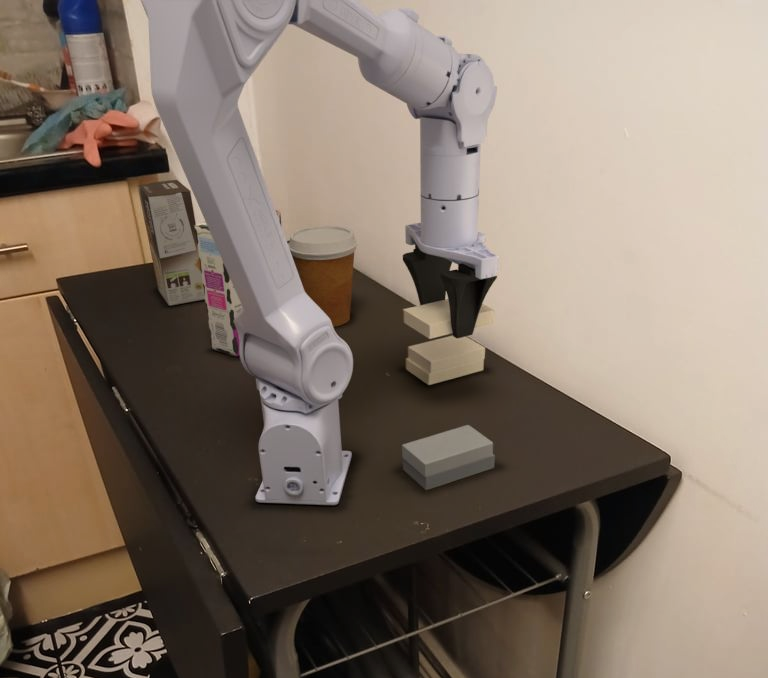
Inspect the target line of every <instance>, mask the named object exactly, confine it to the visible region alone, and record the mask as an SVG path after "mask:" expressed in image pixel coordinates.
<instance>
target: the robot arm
mask: <svg viewBox="0 0 768 678" xmlns="http://www.w3.org/2000/svg"><path fill="white" fill-rule="evenodd" d="M140 2H141V5H142V7H143V11H144V12H145V15H146V17H147V20H148V43H149V46H148V47H149V64H150V65H149V67H150V68H149V69H150V90H151V95H152V99H153V102H154V105H155V108H156V111H157V113H158V115H159V117H160V119H161V122H162V125H163V126H164V129H165V132H166V133H167V136H168V138H169V141H170V143H171V145H172V148H173V150H174V152H175V155H176V156H177V159H178V161H179V163H180V166H181V168H182V171H183V173H184V176H185V178H186V180H187V182H188V184H189V187H190V189H191V191H192V194H193V196H194V198H195V201H196V203H197V205H198V207H199V210H200V212H201V214H202V217H203V219H204V222H206V224H207V226H208V228H209V230H210V233H211V235H212V237H213V240H214V242H215V244H216V247H217V249H218V251H219V254H220V256H221V258H222V260H223V263H224V265H225V267H226V270H227V272H228V274H229V277H230V279H231V281H232V284H233V286H234V288H235V290H236V293H237V295H238V297H239V300H240V302H241V304H242V309H241V310H240V311H239V313H238V314H237V316H236V317H235V319H234V324H235V326H236V329H237V331H238V334H239V340H240V341H239V354H240V355H239V359H240V363H241V365H242V367H243V368H244V370H245V372H247V374H249V375H251V376H252V377H254V378H255V386H256V390H258V391H259V397H260V404H261V411H262V419H263V429H262V432H261V435H260V437H259V441H258V455H259V464H260V468H261V469H260V470H261V477H262V481H261V483H260V486H259V488H258V490H257V492H256V494H255V496H254V497H255V502H257V503H262V504H288V505H289V504H290V505H293V504H294V505H318V506H336V505H339V503H340V500H341V496H342V493H343V489H344V486H345V482H346V479H347V474H348V472H349V467H350V464H351V460H352V458H353V455H352V451H350V450H343V448H342V437H341V433H342V432H341V419H340V407H339V400H340V399H342V398H343V393H344V392H345V391H346V390H347V387H348V385H349V383H350V381H351V379H352V375H353V371H354V369H353V368H354V358H353V357H354V356H353V352H352V350H351V348H350V346H349V345H348V343H347V342H346V341H345V340H344V339H343V338H341V337H340V336H339V335H338V334H337V332H336V330H335V327H333V325H332V322H331V320H330V318H329V317H328V316H327V315H326V314H325V313H324V312H323V311H322V310H321V309H320V308H319V306H318V305H317V304H316V303H315V302H314V301H313V300H312V299H311V298H310V297H309V296H308V295H307V294H306V293H305V291H304V288H303V285H302V282H301V280H300V277H299V274H298V271H297V269H296V266H295V263H294V260H293V257H292V254H291V252H290V249H289V246H288V241H287V238H286V236H285V233H284V230H283V228H282V223H281V224H280V222H279V219H278V216H277V213H276V211H275V210H276V208H275V205H274V203H273V199H272V197H271V194H270V191H269V189H268V186H267V184H266V183H267V182H266V181H265V178H264V175H263V172H262V170H261V169H262V168H261V166H260V164H259V161H258V158H257V155H256V152H255V150H254V147H253V144H252V142H251V141H252V140H251V139H250V135H249V133H248V130H247V128H246V125H245V122H244V119H243V117H242V114H241V112H240V108H239V104H238V103H239V99H240V96H241V95H242V92H243V90H244V87H245V85H246V83H247V82H248V80H249V79H250V78H251V76H253V74H254V72H255V71H256V70H257V68H258V67H259V66H260V64H261V63H262V61H264V59H265V58H266V56H267V55H268V53H269V52H270V51H271V50H272V48H273V46H274V45H275V44H276V42H277V41H278V40H279V38H280V37H281V35H283V33H284V32H285V30H286V28H287V27H288V25H293V26H294V27H297V28H299V29H301V30H302V31H305V32H307V33H309V34H311V35H313V36H315V37H316V38H318V39H320V40H323V41H324V42H326V43H328V44H330V45H332V46H334V47H336V48H338V49H340V50H342V51H343V52H346V53H348V54H350V55H352V56H353V57H356V58H357V63H358V68H359V71H360V74H361V76H362V78H363V79H364V80H365V81H366V82H367V83H369V84H371V85H373V86H374V87H376V88H378V89H380V90H382V91H383V92H385V93H387V94H388V95H390V96H392V97H394V98H396V99H397V100H399V101H400V102H402V103H405V104H406V106H407V109H408V111H409V113H410V115H411V116H412V118H413V119H415V120H419V134H420V135H419V144H420V145H419V148H420V149H419V153H420V154H419V155H420V156H419V159H420V160H419V161H420V163H419V164H420V165H419V168H420V169H419V171H420V172H419V173H420V183H419V184H420V222H416V223H410V224H405V225H404V226H405V228H404V231H405V232H404V233H405V235H404V236H405V244H407V245H409V246H414V248H413V250H412V251H410V252H406V253H403V255H402V262H403V264H404V265H405V267H406V268H407V270H408V272H409V274H410V276H411V279H412V281H413V284H414V288H415V290H416V294H417V297H418V301H419V306H420V305H424V304H428V303H433V302H437V301H441V300H446V296H447V299H448V300H449V306H450V317H451V326H452V332H453V333H452V336H453V337H455V338H462V337H470V336H473V334H474V331H475V325H476V321H477V318H478V314H479V311H480V308H481V306H482V304H484V300H485V299H486V297H487V294H488V293H489V291H490V289H491V287H492V286H493V284H494V283H495V281H496V280H497V279H498V276H499V255H497V254H495V253H494V252H492V251H491V250H490V249H489V248H488V247H487V246H486V245H485V243H486V241H487V235H486V234H485V233H482V232H480V231H479V205H480V204H479V203H480V181H481V180H480V179H481V178H480V177H481V176H480V175H481V146H482V144H483V143H485V137H487V131H488V130H487V129H488V121H489V118H490V115H491V113H492V111H493V109H494V106H495V102H496V98H497V92H498V86H497V85H495V80H494V75H493V72H492V69H491V68H490V66H489V65H488V64H487V63H486V61H485V60H484V59H483V58H482V57H481V56H480V55H479V54H474V53H459V52H458V51H457V50H456V48H454V47H453V46H452V45H453V41H452V39H451V38H449V37H448V36H446V35H436V34H434V33H433V32H431V31H430V30H429V29H427V28H425V27H424V26H422V25H421V24H420V23H418V22H419V18H420V15H419V13H418V12H417V11H415V10H413V9H412V8H407V7H406V8H405V7H404V8H397V9H387V10H385V11H382V12H380V13H379V14H377V13H375V11H373V10H372V9H370V8H369V7H368V6H367V5H366V4H364V3H363V2H362V1H360V0H140ZM453 263H454V264H456V265H457V269H451V267H452V264H453Z"/></svg>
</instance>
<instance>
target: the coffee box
mask: <svg viewBox="0 0 768 678" xmlns="http://www.w3.org/2000/svg"><path fill="white" fill-rule="evenodd" d="M137 191H138V196H139V202H140V207H141V211H142V216H143V220H144V225H145V230H146V235H147V241H148V244H149V250H150V255H151V260H152V265H153V270H154V275H155V276H154V277H155V280H156V285H157V291H158V293H160V295H161V297H162V298H163V299H164V302H166V304H167V305H168V306H170V307H171V306H177V305H182V304H188V303H193V302H200V301H205V294H204V287H203V281H202V275H201V268H200V261H199V253H198V247H197V240H196V233H195V227H194V225H196V224H197V223H196V218H195V211H194V204H193V199H192V192H191V191H192V190H190V189H189V188H188V187H187V186H185V185H184V184H183V183H182V182H181V181H179V180H178V179H171V180H169V179H168V180H161V181H155V182H154V181H153V182H149V183H142V184H138V185H137Z"/></svg>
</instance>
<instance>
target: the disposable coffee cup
mask: <svg viewBox="0 0 768 678" xmlns="http://www.w3.org/2000/svg"><path fill="white" fill-rule="evenodd" d="M287 244H288V246H289V249H290V252H291V255H292V258H293V260H294V263H295V266H296V269H297V271H298V274H299V277H300V280H301V282H302V285H303V288H304V291H305V293H306V294H307V295H308V296H309V297H310V298H311V299H312V300H313V301H314V302H315V303H316V304H317V305H318V306H319V308H320V309H321V310H322V311H323V312H324V313H325V314H326V315H327V316H328V317H329V318H330V320H331V322H332V325H333V328H335V327H338V326H342V325H345V324H346V323H348V322H349V321H350V319H351V305H352V294H353V293H352V292H353V290H352V289H353V278H354V277H353V275H354V264H355V263H354V262H355V251H356V249H357V246H358V240H357V239H356V238H355V234H354V232H353V230H351V229H350V228H347V227H344V226H338V225H337V226H335V225H317V226H308V227H304V228H300V229H298V230H297V229H296V230H294V231H293V232H292V233H291V234H290V236H289V242H287Z"/></svg>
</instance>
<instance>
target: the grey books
mask: <svg viewBox="0 0 768 678" xmlns="http://www.w3.org/2000/svg"><path fill="white" fill-rule="evenodd" d="M493 452H494V442H493V441H492V440H490V439H489V438H487V437H486V436H484V435H483V433H481V432H479V431H478V430H476V429H475V428H473V427H472V426H471V425H469V424H466V425H462V426H459V427H456V428H452V429H449V430H446V431H443V432H439V433H435V434H433V435H430V436H427V437H422V438H419V439H417V440H412V441H410V442H406V443H403V444H402V445H401V455H402V456H401V457H402V471H404V472H405V473H406V474H407V475H408V476H409V477H410V478H411V479H412V480H414V481H415V482H416V483H417V484H418V485H419V486H420V487H421V488H423V489H424V490H425V491H429V490H432V489H434V488H438V487H441V486H444V485H447V484H449V483H452V482H455V481H459V480H463V479H465V478H468V477H471V476H474V475H477V474H480V473H483V472H486V471H489V470H492V469H495V464H496V463H495V462H496V455H495V454H494V453H493Z"/></svg>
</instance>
